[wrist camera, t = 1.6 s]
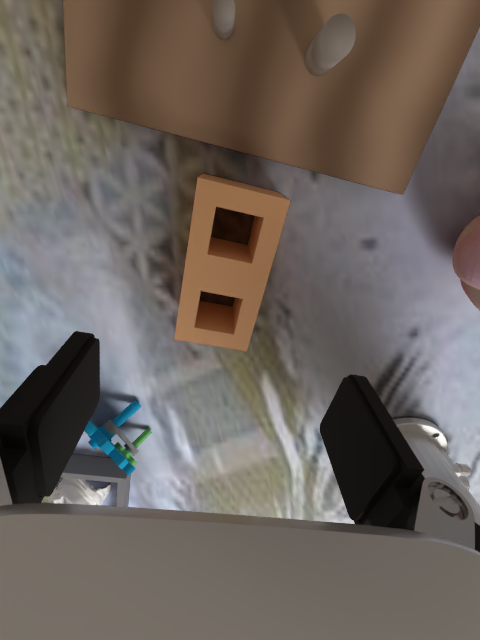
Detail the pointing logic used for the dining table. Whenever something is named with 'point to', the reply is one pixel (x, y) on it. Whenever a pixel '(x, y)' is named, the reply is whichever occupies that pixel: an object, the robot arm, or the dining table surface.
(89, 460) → the frame
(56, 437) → the robot arm
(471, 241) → the decorative fruit
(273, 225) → the block with square holes
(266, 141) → the locating board
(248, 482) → the dining table surface
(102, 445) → the gear
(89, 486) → the whipped cream
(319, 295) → the dining table surface
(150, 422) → the dining table surface
